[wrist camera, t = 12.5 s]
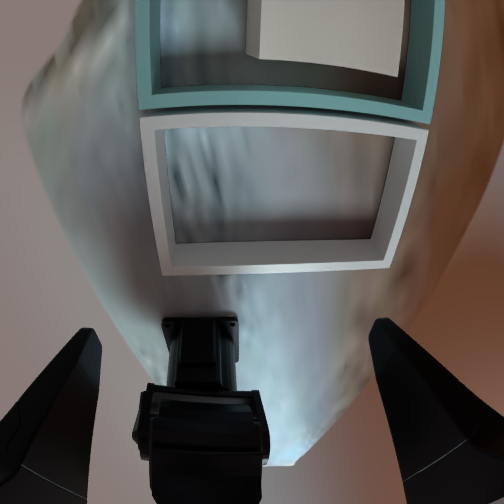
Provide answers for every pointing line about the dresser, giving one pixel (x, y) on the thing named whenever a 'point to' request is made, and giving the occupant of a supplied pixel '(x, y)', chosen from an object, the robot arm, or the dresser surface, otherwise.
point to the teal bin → (410, 107)
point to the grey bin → (281, 252)
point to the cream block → (328, 32)
